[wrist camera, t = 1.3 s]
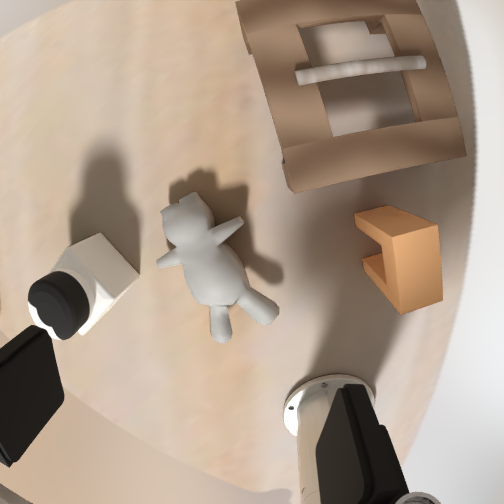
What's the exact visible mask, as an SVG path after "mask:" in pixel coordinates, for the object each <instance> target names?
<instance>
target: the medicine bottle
mask: <svg viewBox="0 0 504 504" xmlns="http://www.w3.org/2000/svg"><path fill="white" fill-rule="evenodd" d="M138 278H139V274H138V273H137V271H136V270H135V269H134V268H133V267H132V266H131V265H130V264H129V263H128V262H127V261H126V260H125V259H124V258H123V256H122V255H121V254H120V253H119V252H118V251H117V250H116V249H115V248H114V247H113V245H112V244H111V243H110V242H109V241H108V240H107V239H106V238H105V237H104V235H103V234H102V233H100V232H98V233H96V234H94V235H92V236H89V237H87V238H85V239H83V240H81V241H79V242H76V243H74V244H72V245H70V246H68V247H67V248H66V249H65V251H64V252H63V254H62V255H61V257H60V258H59V260H58V261H57V263H56V264H55V266H54V267H53V269H52V270H51V272H50V273H49V274H48V275H46V276H44V277H43V278H41V279H39V280H38V281H36V282H35V283H33V284H32V286H31V287H30V290H29V294H28V306H29V311H30V314H31V316H32V318H33V320H34V322H35V323H36V325H37V326H38V327H41V328H44V329H46V330H47V331H48V334H49V335H50V336H51V337H52V338H54V339H58V340H66V339H69V338H70V337H72V336H73V335H74V334H75V333H76V332H77V331H78V332H79V333H80V334H81V335H84V334H85V333H86V332H87V331H88V330H89V329H90V328H91V327H92V326H93V325H94V324H95V323H96V322H97V321H98V320H99V319H100V318H101V317H102V316H103V315H104V314H105V313H106V312H107V311H108V310H109V309H110V308H111V307H112V306H113V305H114V304H115V303H116V302H117V301H118V299H119V298H120V297H121V296H122V295H123V294H124V293H125V292H126V291H127V290H128V289H129V288H130V287H131V286H132V284H133V283H134V282H135V281H136V280H137V279H138Z"/></svg>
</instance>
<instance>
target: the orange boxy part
mask: <svg viewBox="0 0 504 504" xmlns="http://www.w3.org/2000/svg"><path fill="white" fill-rule="evenodd" d="M354 218H355V223H356V227H357V228H359V229H360V230H362V231H363V232H364V233H366V234H367V235H368V236H370V237H371V238H372V239H374V240H375V241H376V242H378V243H379V244H380V245H381V247H382V253H381V254H377V255H373V256H370V257H366V258H362V261H363V267H364V271H365V272H366V273H367V274H368V276H369V277H370V278H371V279H372V280H373V282H374V283H375V284H376V285H377V286H378V288H379V289H380V290H381V291H382V292H383V294H384V295H385V296H386V297H387V298H388V300H389V301H390V302H391V303H392V305H393V306H394V307H395V308H396V310H397V311H398V312H399V313H400V315H401V314H405V313H408V312H411V311H414V310H417V309H420V308H423V307H426V306H429V305H432V304H434V303H437V302H440V301H443V288H442V268H441V253H440V242H439V232H438V225H437V224H435V223H432V222H430V221H427V220H425V219H422V218H420V217H417V216H415V215H412V214H410V213H407V212H404V211H402V210H399V209H397V208H394V207H391V206H389V205H387V206H383V207H379V208H375V209H371V210H367V211H362V212H358V213H354Z"/></svg>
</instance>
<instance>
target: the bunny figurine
mask: <svg viewBox="0 0 504 504" xmlns="http://www.w3.org/2000/svg"><path fill="white" fill-rule="evenodd" d="M160 212H161V214H162V216H163V229H164V234H165V235H166V237H167V238H168V240H169V241H170V242H171V243H173V244H174V245H175V246H176V248H175V249H173V250H171V251H170V252H168V253H167V254H165V255H164V256H162V257H161V258H159V259H158V260H156V261H157V264H158V267H159V268H162V267H168V266H174V265H180V264H183V268H184V276H185V279H186V282H187V285H188V287H189V289H190V291H191V294H192V295H193V297H194V298H195V300H196V301H197V303H200V304H204V305H208V306H210V332H211V335H212V337H213V339H214V340H215V341H216V342H218V343H226V342H228V341H229V340H230V339H231V337H232V328H231V324H230V319H229V314H228V310H227V306H231V305H234V304H235V303H236V302H237V303H238V304H239V305H240V306H241V307H242V308H243V309H244V310H245V311H246V312H247V313H248V314H249V315H250V316H251V317H252V318H253V319H254V320H255V321H256V322H257V323H259V324H262V325H268V324H271V323H272V322H273V321H274V320H275V318H276V317H277V316H278V315H279V307H278V306H277V304H276V303H275V302H274V301H272V300H270V299H269V298H267V297H266V296H264V295H262V294H261V293H259V292H258V291H256V290H255V289H253V288H251V287H250V284H249V280H248V277H247V273H246V271H245V268H244V266H243V264H242V262H241V260H240V259H239V257H238V256H237V254H236V253H235V252H234V250H233V249H232V248H231V247H230V246H229V245H228V244H227V243H226V242H224V241H225V240H226V239H227V238H229V237H230V236H231V235H232V234H233V233H234V232H235V231H236V230H237V229H239V228H240V227H241V226H242V225H243V224H244V221H243V220H242V218H241V217H240V216H239V217H237V218H234V219H232V220H230V221H227V222H225V223H223V224H220V225H218V226H216V227H215V220H214V216H213V213H212V211H211V209H210V208H209V206H208V205H207V204H206V203H205V202H204V201H203V200H202V199H201V198H200V197H199V195H198V193H197V192H192V193H190V194H188V195H187V196H185V197H183V198H181V199H180V200H179V203H173V204H171V205H169V206H168V207H166V208H164V209H163V210H161V211H160Z"/></svg>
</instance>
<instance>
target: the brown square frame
mask: <svg viewBox="0 0 504 504" xmlns="http://www.w3.org/2000/svg"><path fill="white" fill-rule="evenodd" d="M235 3H236V7H237V11H238V16H239V20H240V25H241V30H242V34H243V38H244V41H245V44H246V47H247V50H248V53H249V55H250V54H253V57H254V60H255V63H256V66H257V69H258V72H259V76H260V79H261V82H262V85H263V88H264V92H265V95H266V98H267V101H268V105H269V108H270V111H271V115H272V118H273V122H274V125H275V128H276V132H277V135H278V139H279V142H280V146H281V150H282V153H283V157H284V160H285V163H283V164H282V167H283V170H284V174H285V178H286V182H287V185H288V188H289V189H290V190H291V191H292V192H293V193H294V194H295V193H299V192H303V191H307V190H311V189H315V188H319V187H323V186H328V185H332V184H336V183H340V182H345V181H349V180H353V179H358V178H362V177H366V176H371V175H375V174H380V173H385V172H389V171H394V170H399V169H403V168H408V167H413V166H418V165H423V164H428V163H433V162H438V161H443V160H448V159H454V158H459V157H465V156H467V155H466V150H465V145H464V140H463V135H462V131H461V127H460V122H459V118H458V114H457V111H456V107H455V103H454V100H453V96H452V93H451V89H450V86H449V83H448V80H447V77H446V74H445V71H444V68H443V65H442V62H441V59H440V57H439V54H438V51H437V49H436V46H435V43H434V41H433V38H432V36H431V33H430V31H429V29H428V26H427V24H426V22H425V20H424V17H423V15H422V13H421V11H420V9H419V7H418V4H417V2H416V0H240V1H236V2H235ZM353 21H365V22H366V24H367V27H368V29H369V32H370V34H384V33H386V34H387V36H388V39H389V41H390V44H391V46H392V49H393V52H394V54H395V57H388V58H377V59H368V60H359V61H351V62H344V63H337V64H331V65H325V66H319V67H313V68H312V67H311V64H310V61H309V58H308V55H307V53H306V50H305V47H304V44H303V42H302V39H301V36H300V34H299V31H298V29H299V28H305V27H311V26H318V25H326V24H334V23H343V22H353ZM391 71H401V74H402V77H403V80H404V83H405V86H406V89H407V93H408V96H409V99H410V103H411V106H412V110H413V113H414V117H415V121H416V122H415V123H408V124H402V125H396V126H390V127H384V128H378V129H373V130H367V131H362V132H357V133H352V134H347V135H342V136H337V137H333V135H332V132H331V128H330V125H329V121H328V118H327V114H326V111H325V107H324V104H323V101H322V98H321V94H320V91H319V88H318V85H317V82H321V81H327V80H332V79H338V78H344V77H351V76H358V75H365V74H373V73H382V72H391Z"/></svg>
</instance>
